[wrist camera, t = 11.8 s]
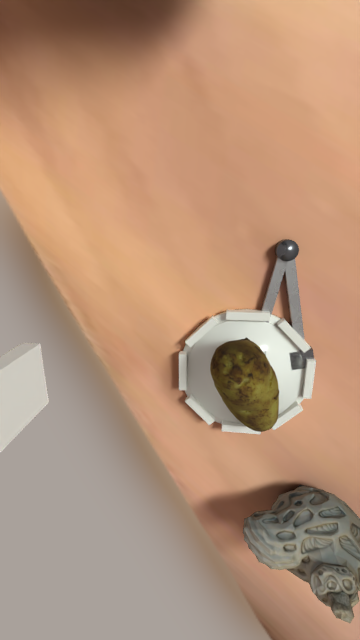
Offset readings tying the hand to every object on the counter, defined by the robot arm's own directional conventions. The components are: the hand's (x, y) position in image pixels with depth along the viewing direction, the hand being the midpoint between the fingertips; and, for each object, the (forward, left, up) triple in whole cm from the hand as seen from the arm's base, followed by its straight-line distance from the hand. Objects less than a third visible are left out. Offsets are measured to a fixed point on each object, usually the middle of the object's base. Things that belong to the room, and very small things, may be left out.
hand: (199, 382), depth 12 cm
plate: (+13, +4, -28) cm, 31 cm away
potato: (+13, +4, -27) cm, 30 cm away
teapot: (+34, +15, -29) cm, 47 cm away
